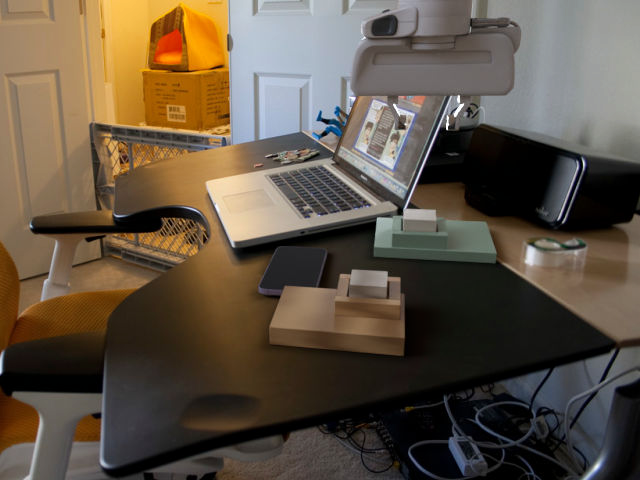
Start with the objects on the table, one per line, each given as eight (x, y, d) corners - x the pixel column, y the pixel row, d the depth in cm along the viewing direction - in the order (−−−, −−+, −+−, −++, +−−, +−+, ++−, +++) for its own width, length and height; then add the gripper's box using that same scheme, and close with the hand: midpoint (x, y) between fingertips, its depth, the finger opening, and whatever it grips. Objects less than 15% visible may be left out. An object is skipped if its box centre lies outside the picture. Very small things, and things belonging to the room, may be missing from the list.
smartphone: (328, 248, 90) (315, 292, 76) (328, 255, 90) (315, 301, 77) (277, 245, 92) (256, 288, 78) (277, 252, 92) (256, 296, 78)
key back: (434, 223, 91) (435, 209, 90) (436, 234, 87) (437, 220, 86) (402, 221, 92) (403, 208, 91) (402, 232, 88) (403, 219, 87)
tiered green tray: (485, 230, 96) (487, 209, 94) (495, 263, 85) (498, 239, 83) (376, 226, 99) (377, 205, 98) (373, 256, 88) (374, 233, 87)
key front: (387, 285, 72) (387, 271, 72) (386, 301, 69) (387, 286, 68) (351, 283, 73) (352, 269, 73) (349, 298, 70) (349, 284, 69)
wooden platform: (403, 308, 74) (405, 277, 73) (403, 356, 65) (405, 322, 64) (285, 299, 78) (285, 270, 76) (269, 344, 68) (268, 311, 67)
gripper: (518, 15, 79) (506, 125, 85) (353, 20, 84) (350, 124, 89) (527, 18, 74) (513, 135, 79) (349, 23, 78) (347, 134, 84)
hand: (426, 129), depth 84 cm, fingers open, 5 cm apart
